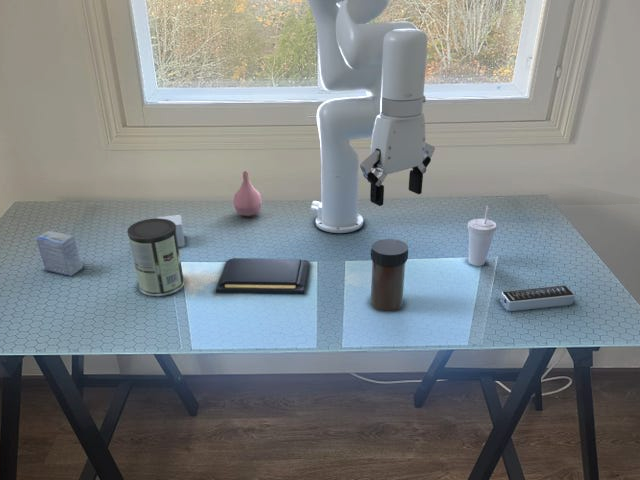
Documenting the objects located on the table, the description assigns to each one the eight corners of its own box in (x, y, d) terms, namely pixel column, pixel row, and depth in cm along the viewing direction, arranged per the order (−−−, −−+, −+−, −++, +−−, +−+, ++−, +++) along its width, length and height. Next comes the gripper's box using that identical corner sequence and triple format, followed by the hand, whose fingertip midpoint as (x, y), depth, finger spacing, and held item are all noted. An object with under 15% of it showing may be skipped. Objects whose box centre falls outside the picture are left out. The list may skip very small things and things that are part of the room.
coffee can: (153, 271, 152) (142, 215, 144) (192, 277, 149) (184, 221, 141) (129, 293, 144) (117, 234, 136) (170, 299, 141) (160, 240, 133)
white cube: (161, 249, 162) (157, 226, 158) (160, 239, 166) (156, 217, 163) (185, 246, 162) (181, 224, 159) (183, 236, 167) (180, 214, 164)
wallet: (310, 256, 152) (303, 288, 140) (310, 263, 154) (303, 295, 141) (227, 253, 154) (213, 285, 142) (227, 260, 156) (214, 292, 143)
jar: (364, 305, 138) (366, 251, 130) (380, 292, 142) (383, 239, 134) (392, 315, 134) (395, 260, 127) (408, 301, 139) (412, 247, 131)
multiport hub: (573, 304, 136) (575, 295, 134) (507, 311, 134) (509, 302, 133) (563, 294, 139) (565, 284, 138) (499, 300, 138) (501, 291, 136)
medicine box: (83, 268, 154) (74, 235, 149) (70, 277, 151) (61, 243, 146) (57, 262, 157) (48, 229, 152) (44, 271, 154) (35, 237, 148)
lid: (363, 260, 131) (364, 249, 130) (382, 246, 136) (383, 235, 134) (395, 270, 127) (396, 258, 126) (414, 256, 132) (415, 244, 131)
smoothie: (491, 269, 149) (500, 212, 141) (462, 267, 150) (470, 210, 142) (490, 256, 154) (499, 201, 146) (462, 255, 155) (470, 199, 147)
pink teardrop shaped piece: (238, 208, 181) (234, 166, 174) (264, 209, 180) (262, 167, 173) (232, 220, 175) (227, 177, 168) (259, 221, 174) (256, 177, 167)
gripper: (423, 94, 122) (416, 182, 132) (350, 110, 115) (349, 202, 125) (451, 102, 117) (442, 193, 127) (377, 119, 110) (373, 214, 120)
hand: (396, 197), depth 126 cm, fingers open, 9 cm apart
